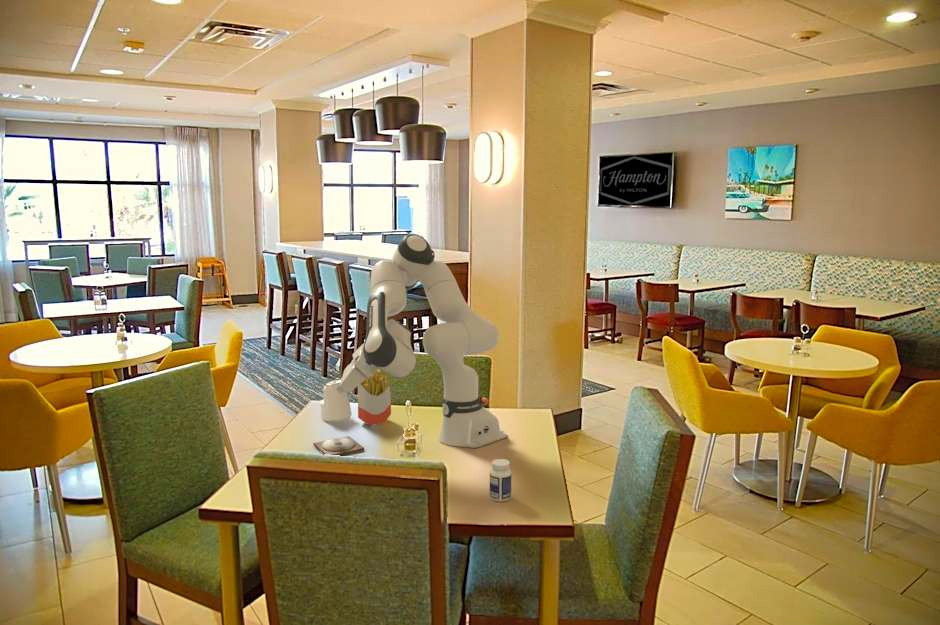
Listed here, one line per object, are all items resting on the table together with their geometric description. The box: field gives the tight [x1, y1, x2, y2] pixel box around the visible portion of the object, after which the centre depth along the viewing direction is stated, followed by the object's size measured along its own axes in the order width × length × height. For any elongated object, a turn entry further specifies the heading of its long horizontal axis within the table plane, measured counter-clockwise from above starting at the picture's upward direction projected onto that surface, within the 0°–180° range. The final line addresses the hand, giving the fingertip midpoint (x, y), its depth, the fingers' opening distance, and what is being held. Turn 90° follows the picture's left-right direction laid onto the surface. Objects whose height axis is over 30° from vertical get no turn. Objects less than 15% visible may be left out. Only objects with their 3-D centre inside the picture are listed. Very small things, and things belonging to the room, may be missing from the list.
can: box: [324, 377, 352, 422], centre depth 210 cm, size 6×6×12 cm
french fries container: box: [357, 369, 392, 427], centre depth 235 cm, size 5×11×18 cm, turn 131°
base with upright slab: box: [320, 386, 334, 422], centre depth 241 cm, size 9×9×12 cm
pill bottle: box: [489, 458, 512, 503], centre depth 179 cm, size 6×6×10 cm
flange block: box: [312, 435, 365, 456], centre depth 213 cm, size 12×12×2 cm
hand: (335, 392), depth 210 cm, fingers closed on can, 4 cm apart
